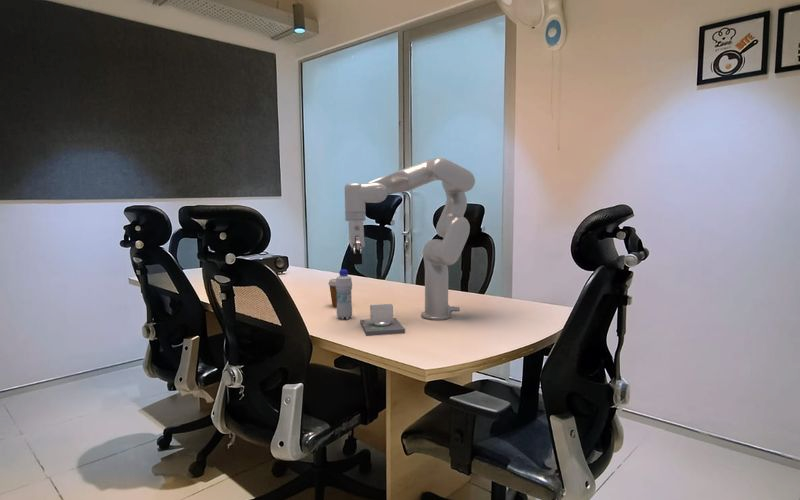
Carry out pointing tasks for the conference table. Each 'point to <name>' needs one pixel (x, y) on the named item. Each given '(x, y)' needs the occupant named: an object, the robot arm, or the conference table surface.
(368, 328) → the dial board
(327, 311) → the conference table surface
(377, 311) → the knob
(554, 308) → the conference table surface
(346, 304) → the bottle
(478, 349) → the conference table surface
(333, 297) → the disposable coffee cup
